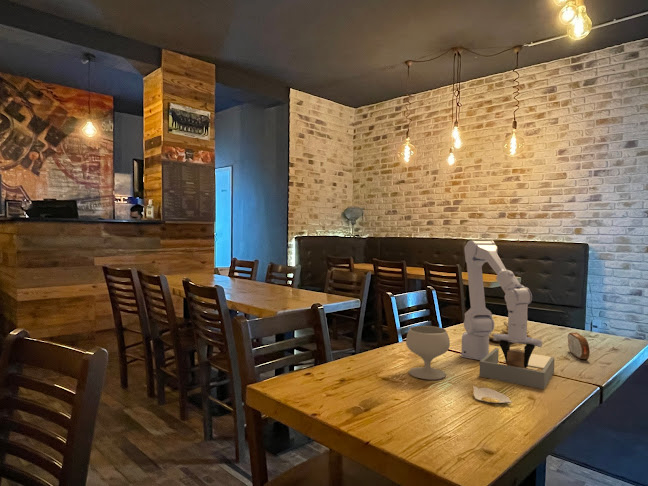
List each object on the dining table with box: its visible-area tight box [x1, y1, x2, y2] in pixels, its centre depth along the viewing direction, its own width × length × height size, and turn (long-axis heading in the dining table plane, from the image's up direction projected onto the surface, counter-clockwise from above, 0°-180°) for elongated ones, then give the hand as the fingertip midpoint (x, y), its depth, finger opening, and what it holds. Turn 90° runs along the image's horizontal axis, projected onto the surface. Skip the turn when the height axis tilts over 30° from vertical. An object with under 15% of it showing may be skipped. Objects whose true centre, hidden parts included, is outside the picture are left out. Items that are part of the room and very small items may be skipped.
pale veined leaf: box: [472, 385, 513, 404], centre depth 120 cm, size 8×12×2 cm, turn 41°
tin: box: [567, 332, 591, 360], centre depth 163 cm, size 15×3×8 cm, turn 168°
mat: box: [503, 353, 552, 370], centre depth 157 cm, size 14×16×1 cm
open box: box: [479, 347, 555, 390], centre depth 141 cm, size 19×20×5 cm
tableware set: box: [489, 321, 532, 350], centre depth 188 cm, size 30×20×6 cm, turn 136°
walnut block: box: [506, 348, 527, 369], centre depth 140 cm, size 5×5×6 cm
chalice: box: [405, 325, 451, 381], centre depth 140 cm, size 14×14×15 cm
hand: (516, 365), depth 140 cm, fingers closed on walnut block, 5 cm apart
